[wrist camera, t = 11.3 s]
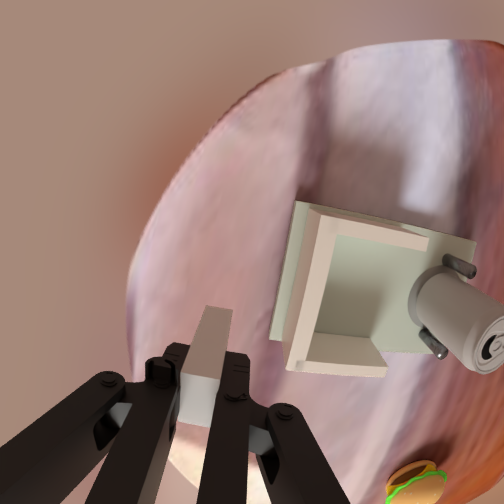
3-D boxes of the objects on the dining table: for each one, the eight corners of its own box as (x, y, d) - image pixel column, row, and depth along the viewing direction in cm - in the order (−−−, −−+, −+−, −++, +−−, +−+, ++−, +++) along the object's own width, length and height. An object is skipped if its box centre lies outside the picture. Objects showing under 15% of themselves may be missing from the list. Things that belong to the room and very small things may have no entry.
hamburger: (432, 444, 38) (451, 478, 30) (442, 469, 41) (457, 498, 32) (371, 478, 40) (382, 515, 32) (389, 498, 42) (399, 529, 34)
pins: (452, 254, 30) (478, 266, 25) (425, 338, 32) (445, 359, 27) (443, 252, 30) (468, 264, 25) (416, 338, 32) (435, 359, 27)
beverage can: (413, 275, 30) (476, 321, 18) (459, 266, 30) (527, 303, 18) (411, 328, 31) (463, 387, 20) (455, 317, 31) (513, 365, 19)
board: (469, 239, 31) (477, 242, 29) (435, 348, 34) (440, 354, 32) (294, 200, 30) (296, 201, 29) (268, 332, 34) (268, 339, 32)
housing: (400, 227, 29) (429, 238, 23) (366, 347, 32) (384, 377, 26) (308, 207, 29) (321, 214, 23) (281, 338, 32) (285, 369, 26)
